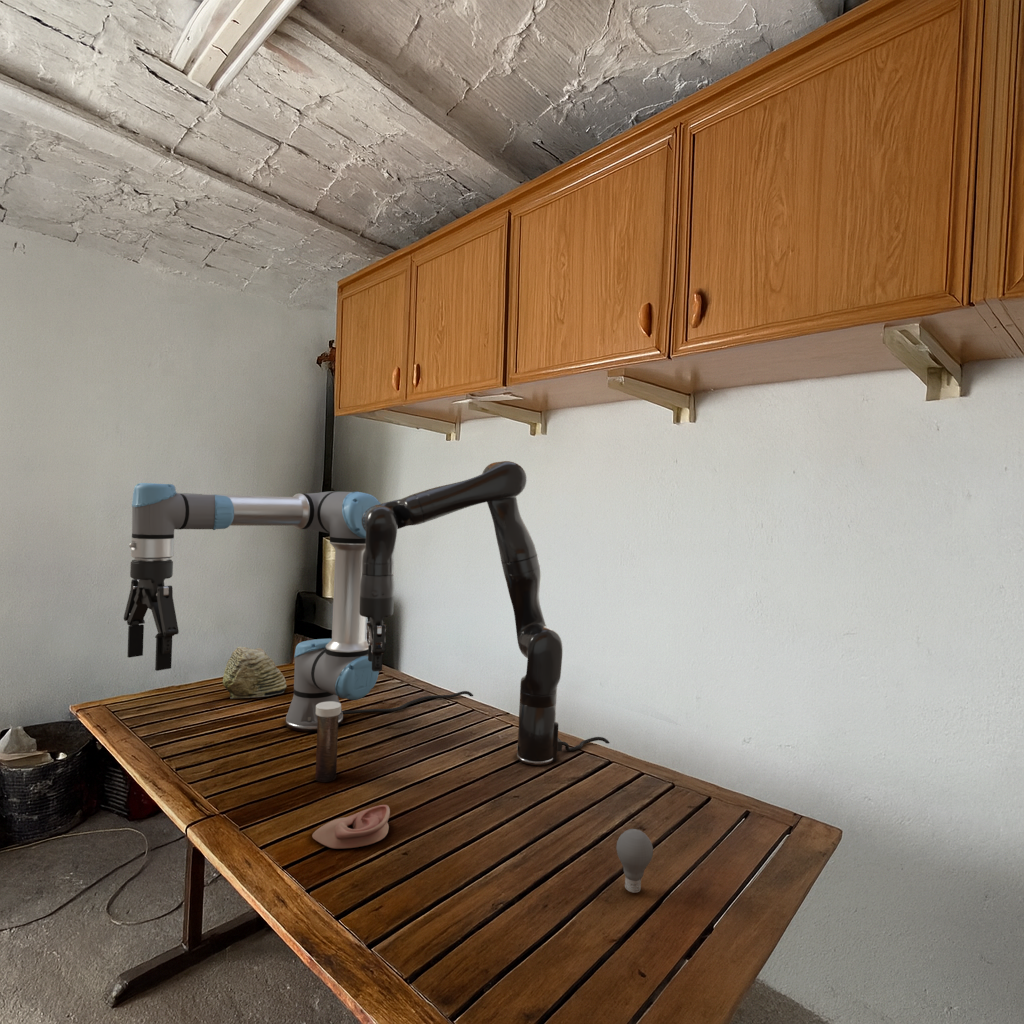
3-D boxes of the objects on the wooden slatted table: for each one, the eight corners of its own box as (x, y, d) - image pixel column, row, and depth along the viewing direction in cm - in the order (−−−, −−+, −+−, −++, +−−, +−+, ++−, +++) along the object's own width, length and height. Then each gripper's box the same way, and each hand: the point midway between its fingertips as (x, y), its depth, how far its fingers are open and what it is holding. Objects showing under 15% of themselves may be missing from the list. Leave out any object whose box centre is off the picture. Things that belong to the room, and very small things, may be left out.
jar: (311, 778, 142) (314, 707, 142) (328, 771, 146) (331, 702, 146) (323, 784, 140) (325, 712, 139) (340, 778, 143) (343, 707, 143)
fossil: (218, 695, 195) (220, 647, 195) (278, 685, 208) (279, 640, 207) (228, 703, 189) (230, 653, 188) (289, 692, 201) (290, 645, 201)
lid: (310, 712, 142) (310, 705, 142) (331, 707, 146) (331, 699, 146) (325, 718, 139) (325, 711, 138) (346, 713, 143) (346, 705, 143)
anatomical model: (304, 822, 115) (334, 794, 126) (303, 844, 115) (333, 813, 126) (372, 833, 112) (397, 803, 124) (371, 855, 113) (396, 823, 124)
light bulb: (610, 879, 108) (613, 822, 108) (644, 879, 109) (647, 822, 109) (619, 902, 102) (622, 840, 102) (655, 901, 103) (658, 840, 103)
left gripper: (108, 554, 134) (104, 654, 134) (159, 565, 118) (155, 678, 119) (146, 552, 140) (143, 648, 140) (199, 563, 124) (195, 671, 124)
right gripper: (398, 599, 137) (395, 673, 137) (389, 589, 150) (387, 657, 151) (362, 599, 135) (360, 675, 135) (357, 589, 148) (355, 658, 148)
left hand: (148, 662), depth 129 cm, fingers open, 13 cm apart
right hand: (374, 665), depth 143 cm, fingers open, 8 cm apart
